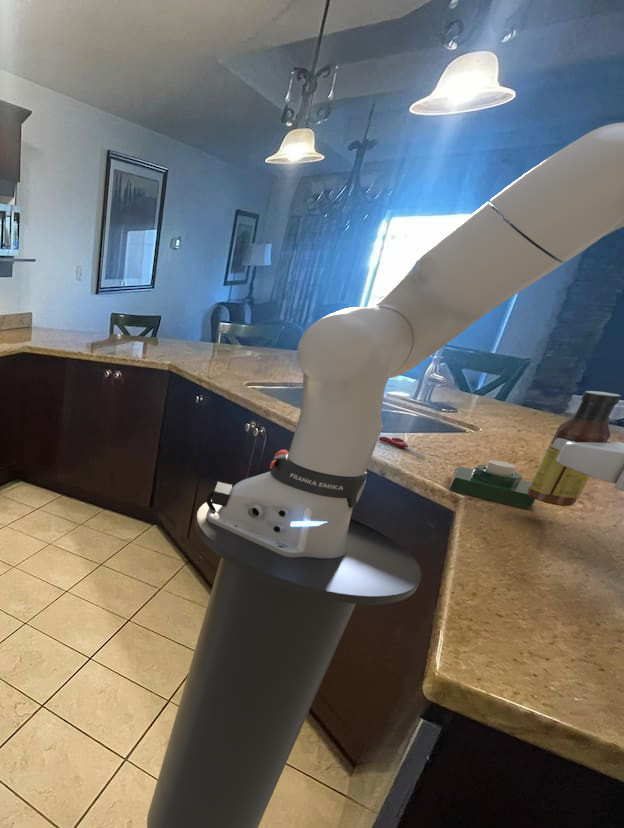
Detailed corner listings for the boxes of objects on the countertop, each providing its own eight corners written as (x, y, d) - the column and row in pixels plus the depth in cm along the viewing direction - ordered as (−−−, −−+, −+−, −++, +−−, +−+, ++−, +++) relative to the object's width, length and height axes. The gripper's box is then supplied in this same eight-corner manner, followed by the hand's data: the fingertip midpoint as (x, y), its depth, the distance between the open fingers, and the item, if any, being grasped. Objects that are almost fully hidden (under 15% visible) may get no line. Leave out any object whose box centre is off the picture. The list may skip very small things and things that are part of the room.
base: (449, 490, 103) (459, 468, 101) (451, 477, 110) (460, 457, 108) (529, 510, 96) (542, 486, 94) (526, 495, 102) (538, 473, 100)
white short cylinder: (484, 472, 101) (489, 463, 100) (484, 467, 103) (489, 458, 103) (511, 478, 98) (516, 469, 97) (510, 473, 101) (515, 464, 100)
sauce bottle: (576, 503, 89) (640, 396, 81) (569, 510, 85) (636, 400, 77) (526, 489, 94) (582, 387, 86) (518, 496, 90) (575, 391, 82)
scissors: (397, 440, 133) (399, 437, 133) (434, 459, 121) (436, 455, 120) (376, 439, 134) (378, 435, 133) (410, 457, 121) (412, 453, 121)
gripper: (758, 455, 73) (636, 426, 85) (641, 453, 71) (534, 424, 83) (729, 493, 75) (616, 459, 88) (616, 492, 73) (516, 458, 86)
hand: (575, 442), depth 86 cm, fingers closed on sauce bottle, 6 cm apart
